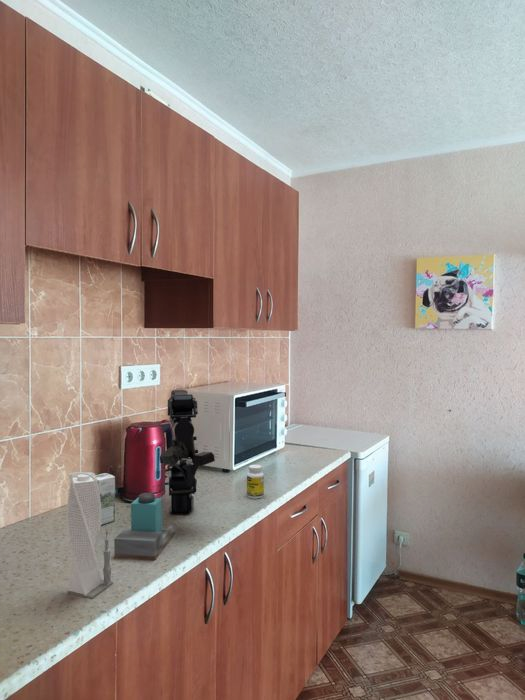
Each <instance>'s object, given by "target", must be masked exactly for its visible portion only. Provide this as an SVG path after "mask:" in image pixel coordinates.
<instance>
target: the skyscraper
mask: <svg viewBox="0 0 525 700" xmlns="http://www.w3.org/2000/svg"><path fill="white" fill-rule="evenodd" d="M95 475H96V474H95V473H94V472H93V471H92V472H91V471H90V472H88V471H87V472H86V471H74V472H71V473H69V474H68V478H69V480H70V481H69V482H70V483H69V487H68V488H69V489H68V495H67V496H68V497H67V504H66V531H67V538H68V546H69V550H70V553H71V558H72V562H71V569H70V575H69V580H68V586H67V593H68V594H71V595H76V596H80V597H84V598H88V599H91V600H92V599H94V598H96V597H97V596H98V595H100V594H101V593H103V592H104V591H105V590H106V589H108V588H109V587H111V586H113V584H114V582H113V581H112V580H111V575H112V567H111V548H109V537H108V531H105V539H104V541H105V542H104V543H105V545H104V546H105V547H104V549H103V561H104V563H103V569H102V572H103V579H102V578H101V573H100V568H99V566H98V560H97V557H96V550H97V546H98V542H99V537H100V531H101V526H102V525H101V501H100V494H99V488H98V483H97V480H96V478H95Z"/></svg>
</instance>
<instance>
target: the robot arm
mask: <svg viewBox="0 0 525 700" xmlns="http://www.w3.org/2000/svg"><path fill="white" fill-rule="evenodd" d="M193 395H194V394H188V390H185V389H175V390H173V391H172V395H171V396H170V397H169V399H167V417H168V416H169V423H170V424H171V425H172V427H173V435H174V439H172V440H171V446H170V447H169V448H167V449H166V450H164V451H163V452H162V453H161V454H160V455H159V463H160V464H164V465H166V466H168V465H170V466H172V467H171V469H170V476H168V496H170V497H171V498H170V503H171V504H170V507H171V510H170V511H169V515H187V516H188V515H190V514H191V513H192V511H193V509H194V507H195V506H194V504H195V503H194V501H195V500H194V498H195V497H194V496H193V495H195V493H197V485H198V484H197V483H198V481H197V478H196V477H195V476H196V475H197V474H196V473H197V470H198V469H199V467H203V466H206V465H209V464H210V463H213V462H215V461H216V459H215V454H214V453H213V452H212V451H202V452H199V450H198V449H196V447H195V441H197V440H198V438H197V436H194V434H195V427H194V424H193V422H192V418H193V419H194V418H197V415H198V414H199V413H198V401H197V400H196V398H195V397H194V396H193Z"/></svg>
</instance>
